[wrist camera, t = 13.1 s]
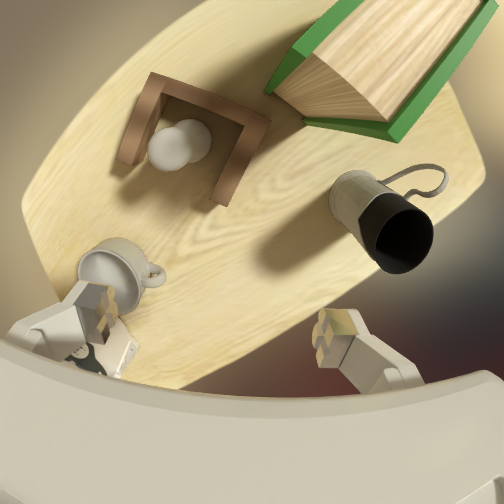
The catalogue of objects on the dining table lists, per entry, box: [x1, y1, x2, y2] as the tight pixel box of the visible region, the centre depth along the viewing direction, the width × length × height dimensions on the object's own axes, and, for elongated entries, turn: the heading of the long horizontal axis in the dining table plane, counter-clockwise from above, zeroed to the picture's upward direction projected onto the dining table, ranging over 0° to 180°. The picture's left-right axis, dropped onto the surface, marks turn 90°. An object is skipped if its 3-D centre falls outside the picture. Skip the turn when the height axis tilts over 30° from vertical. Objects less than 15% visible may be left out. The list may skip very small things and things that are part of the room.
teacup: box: [78, 237, 166, 315], centre depth 39 cm, size 14×11×8 cm
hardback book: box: [263, 0, 499, 144], centre depth 19 cm, size 18×7×24 cm, turn 143°
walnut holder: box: [116, 72, 271, 207], centre depth 32 cm, size 12×16×4 cm
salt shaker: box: [147, 119, 212, 172], centre depth 29 cm, size 6×6×13 cm
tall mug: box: [329, 164, 449, 274], centre depth 31 cm, size 9×14×15 cm, turn 142°
